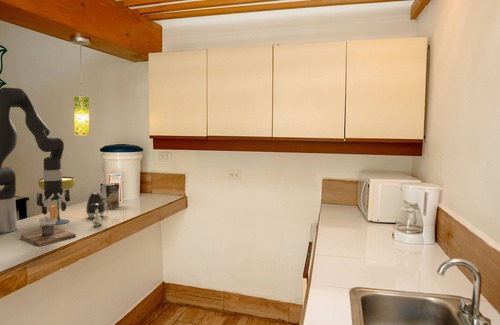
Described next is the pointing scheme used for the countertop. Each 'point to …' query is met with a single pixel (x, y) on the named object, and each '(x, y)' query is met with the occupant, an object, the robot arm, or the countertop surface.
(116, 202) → the coffee box
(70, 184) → the cocktail glass
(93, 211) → the black egg-shaped body
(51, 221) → the coupling
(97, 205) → the valve
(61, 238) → the base board
